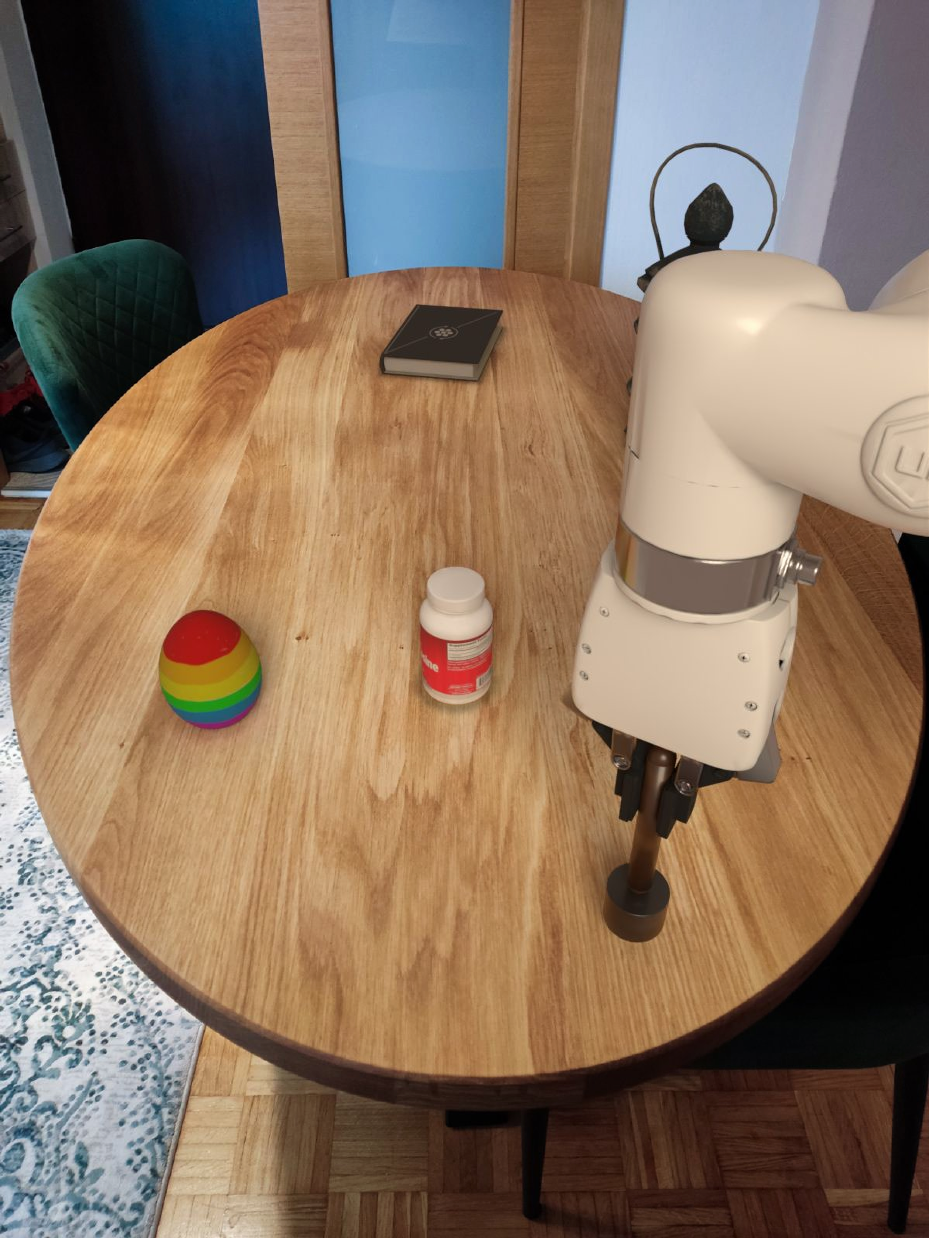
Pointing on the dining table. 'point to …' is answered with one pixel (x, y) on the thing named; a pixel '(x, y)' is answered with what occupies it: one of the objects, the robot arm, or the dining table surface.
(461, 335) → the book
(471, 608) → the pill bottle
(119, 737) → the dining table surface
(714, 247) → the lantern
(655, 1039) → the dining table surface
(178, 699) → the decorative egg
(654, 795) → the brown pestle
